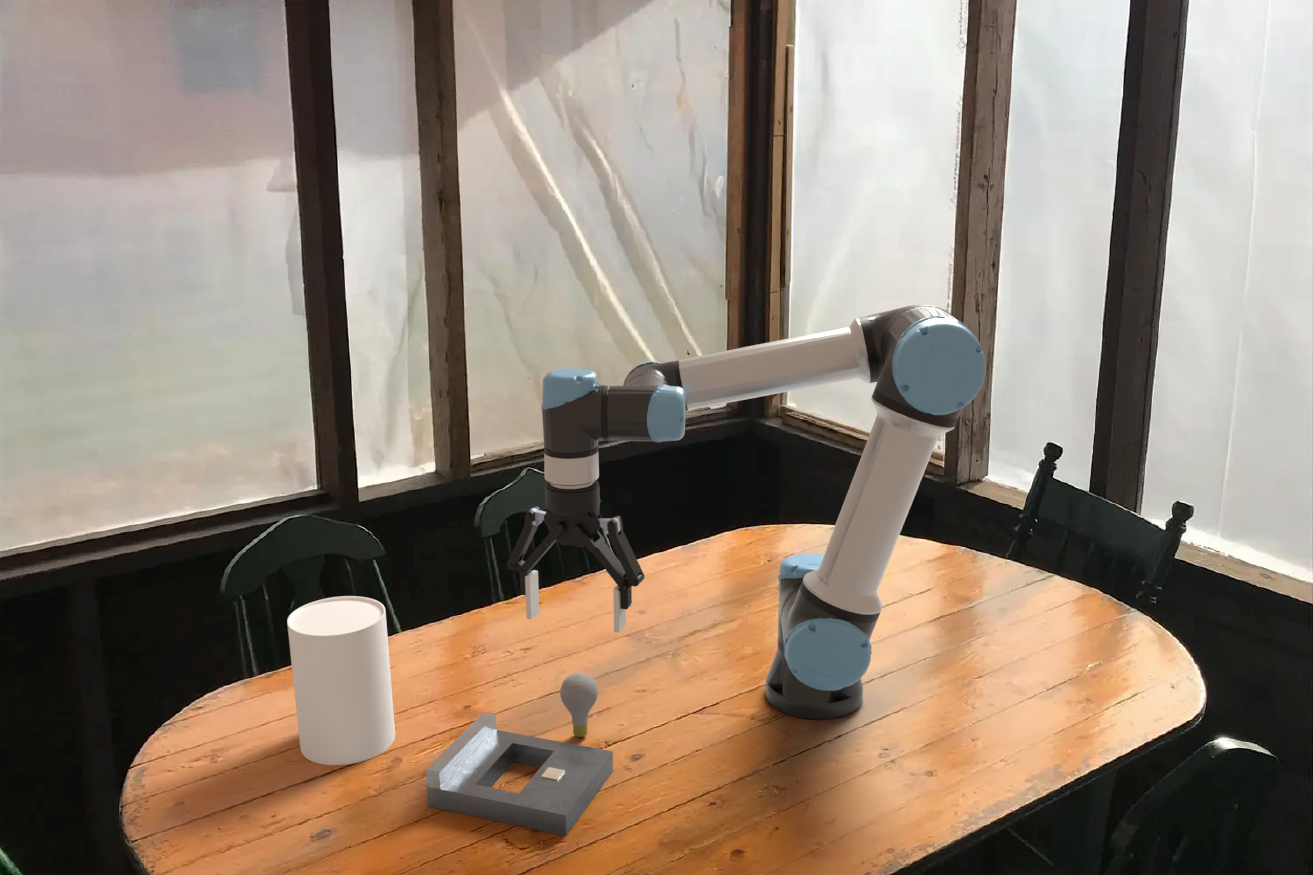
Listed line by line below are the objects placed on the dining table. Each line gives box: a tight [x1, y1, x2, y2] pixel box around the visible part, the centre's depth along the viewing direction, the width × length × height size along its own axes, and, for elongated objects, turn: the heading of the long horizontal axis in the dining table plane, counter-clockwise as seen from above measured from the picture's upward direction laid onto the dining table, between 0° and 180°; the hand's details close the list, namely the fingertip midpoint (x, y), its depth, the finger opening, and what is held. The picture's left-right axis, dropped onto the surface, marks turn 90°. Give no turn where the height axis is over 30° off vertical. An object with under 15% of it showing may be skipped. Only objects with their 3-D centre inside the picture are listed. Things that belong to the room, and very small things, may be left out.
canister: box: [286, 595, 396, 766], centre depth 166 cm, size 14×14×20 cm
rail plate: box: [425, 711, 614, 837], centre depth 155 cm, size 20×16×6 cm
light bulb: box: [559, 672, 599, 738], centre depth 167 cm, size 5×5×10 cm
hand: (576, 622), depth 164 cm, fingers open, 13 cm apart
